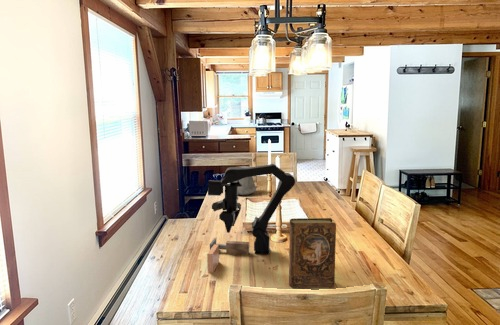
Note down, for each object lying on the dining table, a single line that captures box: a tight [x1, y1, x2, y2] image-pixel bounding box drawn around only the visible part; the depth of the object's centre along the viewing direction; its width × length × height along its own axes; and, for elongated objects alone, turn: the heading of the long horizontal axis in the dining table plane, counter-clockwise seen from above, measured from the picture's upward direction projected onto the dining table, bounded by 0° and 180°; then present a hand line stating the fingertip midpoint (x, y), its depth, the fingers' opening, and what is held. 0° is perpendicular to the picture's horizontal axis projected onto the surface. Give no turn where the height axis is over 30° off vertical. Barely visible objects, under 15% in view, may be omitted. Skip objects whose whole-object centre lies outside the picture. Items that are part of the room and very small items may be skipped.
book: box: [288, 217, 337, 289], centre depth 138 cm, size 16×6×25 cm, turn 92°
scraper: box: [209, 237, 250, 256], centre depth 169 cm, size 17×8×5 cm, turn 81°
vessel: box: [234, 165, 258, 196], centre depth 277 cm, size 22×22×20 cm
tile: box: [206, 243, 220, 274], centre depth 154 cm, size 2×10×8 cm, turn 170°
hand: (230, 229), depth 168 cm, fingers open, 9 cm apart
